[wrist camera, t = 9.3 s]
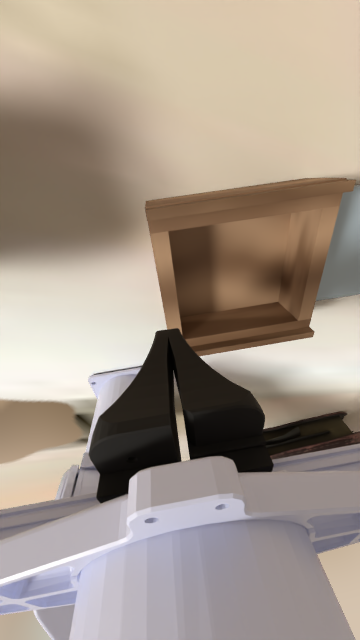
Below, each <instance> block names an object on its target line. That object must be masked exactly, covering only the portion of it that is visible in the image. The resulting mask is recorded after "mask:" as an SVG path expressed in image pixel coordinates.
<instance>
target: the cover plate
mask: <svg viewBox="0 0 360 640" xmlns="http://www.w3.org/2000/svg"><path fill="white" fill-rule="evenodd" d="M358 294H360V185H355V186H354V189H353V191H351V192H344V193H343V195H342V199H341V203H340V207H339V211H338V214H337V218H336V222H335V226H334V230H333V234H332V238H331V242H330V246H329V250H328V254H327V258H326V262H325V266H324V270H323V273H322V277H321V281H320V285H319V289H318V293H317V297H316V301H318V300H325V299H331V298H338V297H345V296H351V295H358Z"/></svg>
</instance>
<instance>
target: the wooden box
mask: <svg viewBox="0 0 360 640" xmlns="http://www.w3.org/2000/svg"><path fill="white" fill-rule="evenodd" d="M346 179H347V178H305V179H298V180H291V181H284V182H277V183H270V184H263V185H256V186H249V187H242V188H234V189H227V190H220V191H213V192H206V193H199V194H192V195H185V196H178V197H171V198H164V199H157V200H150V201H146V205H145V211H146V216H147V221H148V225H149V231H150V236H151V242H152V247H153V253H154V258H155V264H156V269H157V275H158V280H159V286H160V291H161V297H162V302H163V308H164V313H165V319H166V324H167V330H168V329H174V328H178V329H179V330H180V332H181V334H182V336H183V337H184V339H185V340H186V342H187V343H188V344H189V345H190V347H191V348H192V349H193V350H194V352H195V353H196V354H197V355H198V356H204V355H210V354H216V353H221V352H227V351H233V350H239V349H245V348H251V347H257V346H263V345H268V344H274V343H280V342H286V341H292V340H298V339H304V338H310V337H313V335H314V331H313V330H312V329H311V328H310V327H309V325H310V321H311V317H312V313H313V309H314V305H315V301H316V297H317V293H318V289H319V285H320V281H321V277H322V273H323V270H324V266H325V262H326V258H327V254H328V250H329V246H330V242H331V238H332V234H333V230H334V226H335V222H336V218H337V214H338V211H339V207H340V203H341V199H342V195H343V193H344V192H351V191H353V189H354V186H355V182H356V180H346Z"/></svg>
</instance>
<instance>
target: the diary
mask: <svg viewBox="0 0 360 640" xmlns="http://www.w3.org/2000/svg"><path fill="white" fill-rule="evenodd" d="M345 415H347V413H345V412H336V413H331V414H326V415H322V416H317V417H313V418H309V419H305V420H301V421H297V422H293V423H289V424H285V425H282V426H278V427H274V428H268V429H263V433H262V434H263V436H264V438H265V440H266V445H265V446H266V448H267V450H268V453H269V455H270V457H271V459H272V460H274V459H279V458H284V457H290V456H295V455H301V454H306V453H312V452H317V451H322V450H328V449H333V448H339V447H344V446H350V445H355V444H360V432H355V433H352V432H353V431H352V432H351V430H350V429H349V428H348V427H347V425H346V424H345V423H344V422H343V420H342V419H343V418H344V416H345Z"/></svg>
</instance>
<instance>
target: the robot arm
mask: <svg viewBox="0 0 360 640" xmlns="http://www.w3.org/2000/svg"><path fill="white" fill-rule="evenodd" d="M173 370H174V374H175V378H176V382H177V386H178V391H179V395H180V399H181V403H182V408H183V415H184V421H185V428H186V435H187V441H188V448H189V455H190V460H188V461H183V462H181V454H180V447H179V439H178V431H177V423H176V415H175V405H174V374H173ZM88 382H89V384H90V386H91V387H92V389H93V391H94V393H95V395H96V397H97V399H98V400H97V404H96V409H95V413H94V417H93V422H92V426H91V430H90V434H89V439H88V443H87V447H86V452H85V453H84V454H83V459H82V463H81V467H80V469H79V465H72V466H71V468H70V469H69V470H67V471H66V472H65V473H64V475H63V477H62V479H61V482H60V485H59V488H58V491H57V495H56V498H55V500H51V501H46V502H40V503H35V504H29V505H24V506H19V507H13V508H8V509H2V510H0V615H4V614H10V613H18V612H25V611H31V610H34V615H35V617H36V619H37V620H38V622H39V623H40V624H41V626H42V627H43V628H44V630H45V631H46V632H47V634H48V635H49V636H50V638H51V639H52V640H355V637H354V635H353V633H352V631H351V629H350V627H349V624H348V622H347V620H346V617H345V615H344V613H343V611H342V609H341V607H340V604H339V602H338V600H337V598H336V596H335V593H334V591H333V589H332V587H331V584H330V582H329V580H328V578H327V576H326V573H325V571H324V569H323V567H322V565H321V562H320V560H319V558H318V556H317V554H319V553H323V552H326V551H329V550H333V549H337V548H340V547H344V546H348V545H351V544H355V543H358V542H360V444H355V445H350V446H344V447H339V448H333V449H328V450H322V451H317V452H312V453H306V454H301V455H295V456H290V457H284V458H279V459H274V460H272V459H271V457H270V455H269V453H268V450H267V448H266V446H265V445H266V440H265V438H264V436H263V434H262V433H263V427H264V422H265V415H264V413H263V411H262V409H261V407H260V405H259V404H258V402H257V401H256V399H255V398H254V396H253V395H252V394H251V392H250V391H248V390H246V389H244V388H242V387H240V386H238V385H236V384H234V383H233V382H231V381H229V380H228V379H226V378H225V377H223V376H222V375H220V374H219V373H218V372H216V371H215V370H214V369H212V368H211V367H210V366H209V365H208V364H206V363H205V362H204V361H203V360H202V359H201V358H200V357H199V356H198V355H197V354H196V353H195V352H194V350H193V349H192V348H191V347H190V345H189V344H188V343H187V342H186V340H185V339H184V337H183V336H182V334H181V332H180V330H179V329H178V328H174V329H168V330H161V331H157V332H156V334H155V338H154V341H153V344H152V347H151V349H150V352H149V354H148V356H147V358H146V360H145V362H144V364H143V366H142V367H139V368H133V369H127V370H121V371H115V372H110V373H104V374H98V375H92V376H90V377H89V378H88Z"/></svg>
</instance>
